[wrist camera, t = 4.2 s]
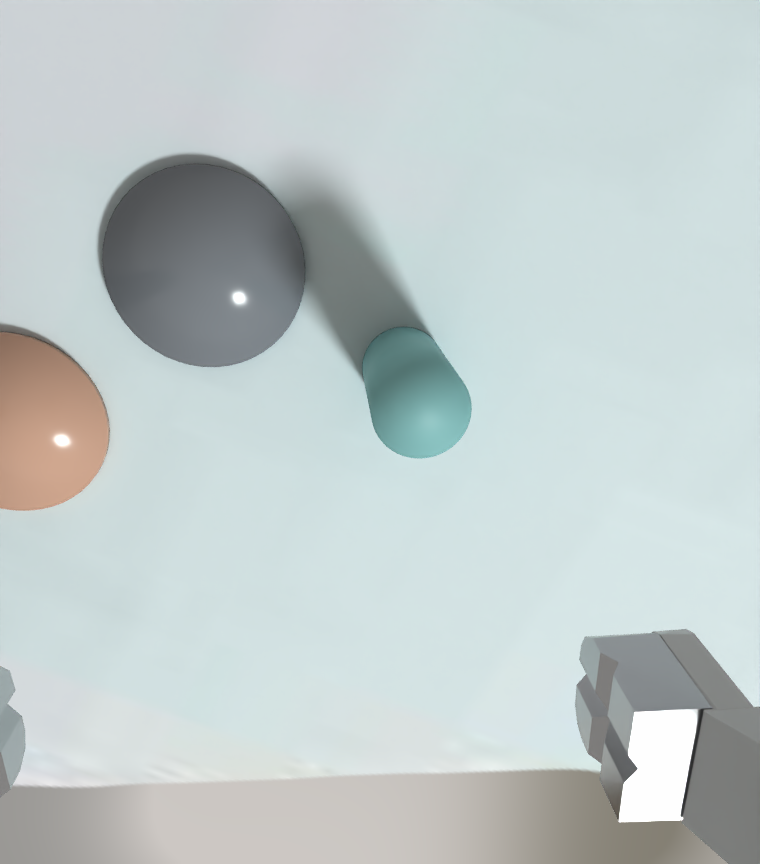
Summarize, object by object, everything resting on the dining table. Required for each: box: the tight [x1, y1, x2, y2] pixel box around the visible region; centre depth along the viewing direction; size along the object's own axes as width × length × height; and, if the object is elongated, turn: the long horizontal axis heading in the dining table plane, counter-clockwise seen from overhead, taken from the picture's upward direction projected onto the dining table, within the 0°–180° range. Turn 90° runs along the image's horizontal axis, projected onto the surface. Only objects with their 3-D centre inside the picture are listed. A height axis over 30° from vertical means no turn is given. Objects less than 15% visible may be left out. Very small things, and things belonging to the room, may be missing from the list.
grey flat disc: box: [102, 164, 305, 367], centre depth 31 cm, size 9×9×1 cm
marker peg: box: [362, 327, 472, 458], centre depth 30 cm, size 4×4×7 cm
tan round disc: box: [0, 332, 110, 510], centre depth 33 cm, size 9×9×1 cm
